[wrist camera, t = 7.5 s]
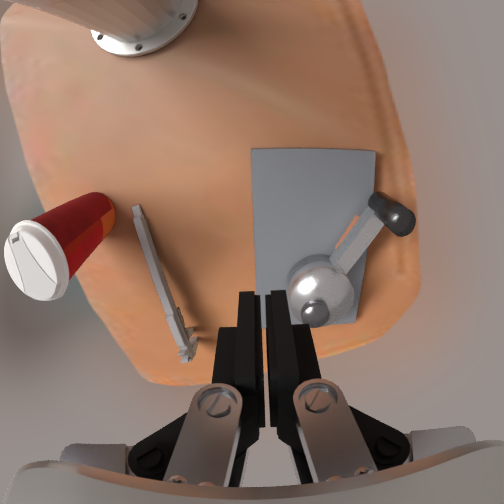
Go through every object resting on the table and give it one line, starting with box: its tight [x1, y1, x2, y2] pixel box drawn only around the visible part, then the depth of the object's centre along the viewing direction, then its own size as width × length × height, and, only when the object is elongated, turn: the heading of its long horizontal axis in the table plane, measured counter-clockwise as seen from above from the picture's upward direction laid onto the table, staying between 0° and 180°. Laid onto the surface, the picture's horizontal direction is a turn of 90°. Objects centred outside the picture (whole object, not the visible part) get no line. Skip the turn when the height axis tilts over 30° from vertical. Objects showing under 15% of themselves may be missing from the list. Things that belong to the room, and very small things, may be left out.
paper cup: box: [4, 192, 116, 301], centre depth 26 cm, size 8×8×14 cm
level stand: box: [251, 148, 376, 328], centre depth 33 cm, size 22×13×2 cm, turn 2°
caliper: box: [132, 204, 199, 363], centre depth 33 cm, size 20×1×6 cm, turn 15°
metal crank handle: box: [287, 192, 416, 328], centre depth 29 cm, size 16×7×7 cm, turn 149°
